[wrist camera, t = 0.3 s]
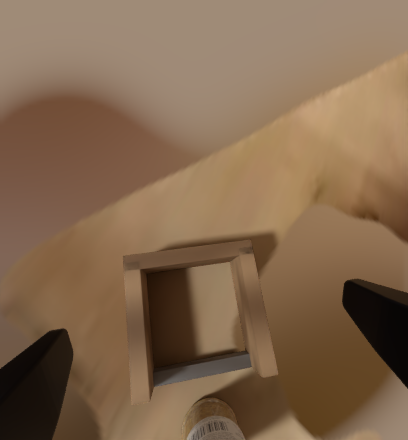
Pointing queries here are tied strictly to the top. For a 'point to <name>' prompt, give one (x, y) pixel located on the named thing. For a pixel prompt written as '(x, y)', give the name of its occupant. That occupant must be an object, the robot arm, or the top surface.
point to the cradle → (253, 357)
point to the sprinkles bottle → (211, 422)
